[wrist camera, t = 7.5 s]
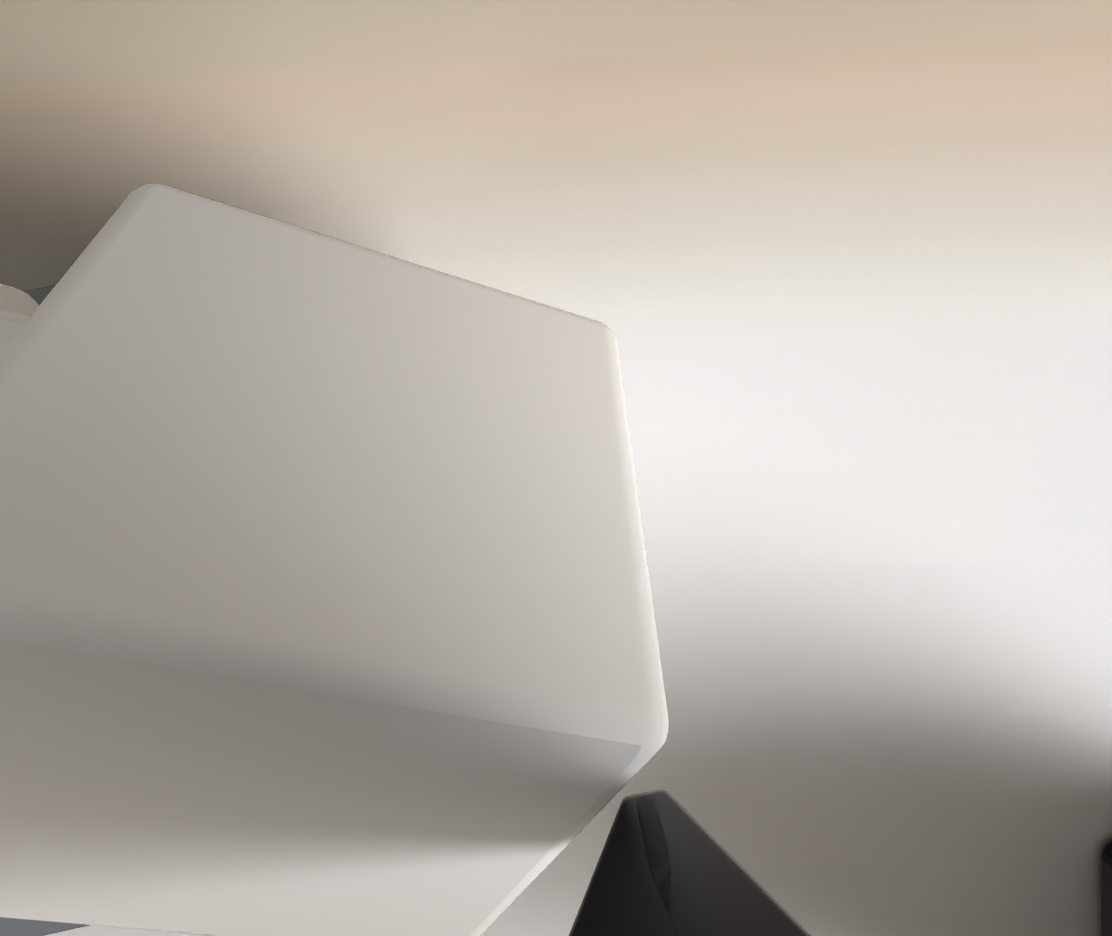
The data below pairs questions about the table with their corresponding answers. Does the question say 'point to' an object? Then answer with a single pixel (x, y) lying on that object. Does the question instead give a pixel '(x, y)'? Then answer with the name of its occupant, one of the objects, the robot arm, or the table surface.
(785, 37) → the table surface
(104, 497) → the medicine bottle
